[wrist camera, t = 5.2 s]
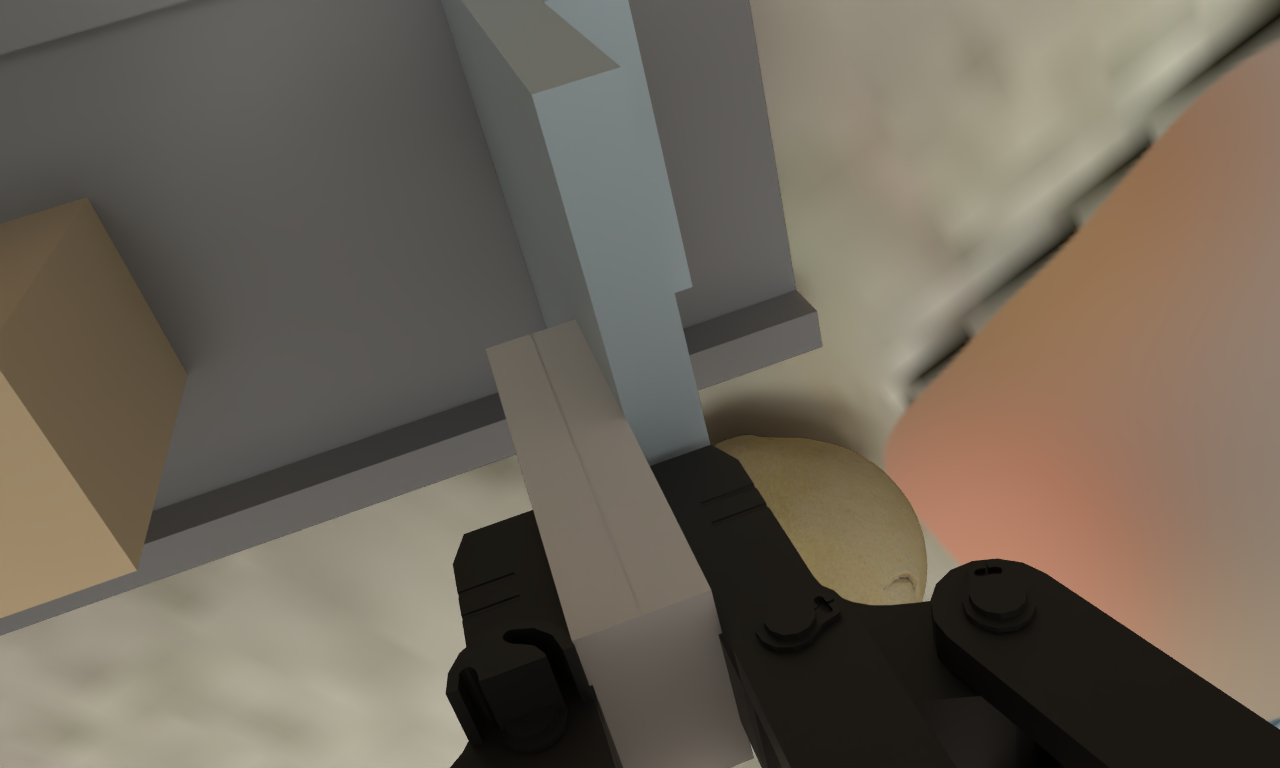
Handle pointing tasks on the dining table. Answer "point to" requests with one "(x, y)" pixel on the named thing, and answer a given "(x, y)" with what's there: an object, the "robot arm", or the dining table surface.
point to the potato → (839, 516)
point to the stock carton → (76, 408)
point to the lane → (353, 236)
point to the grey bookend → (589, 194)
